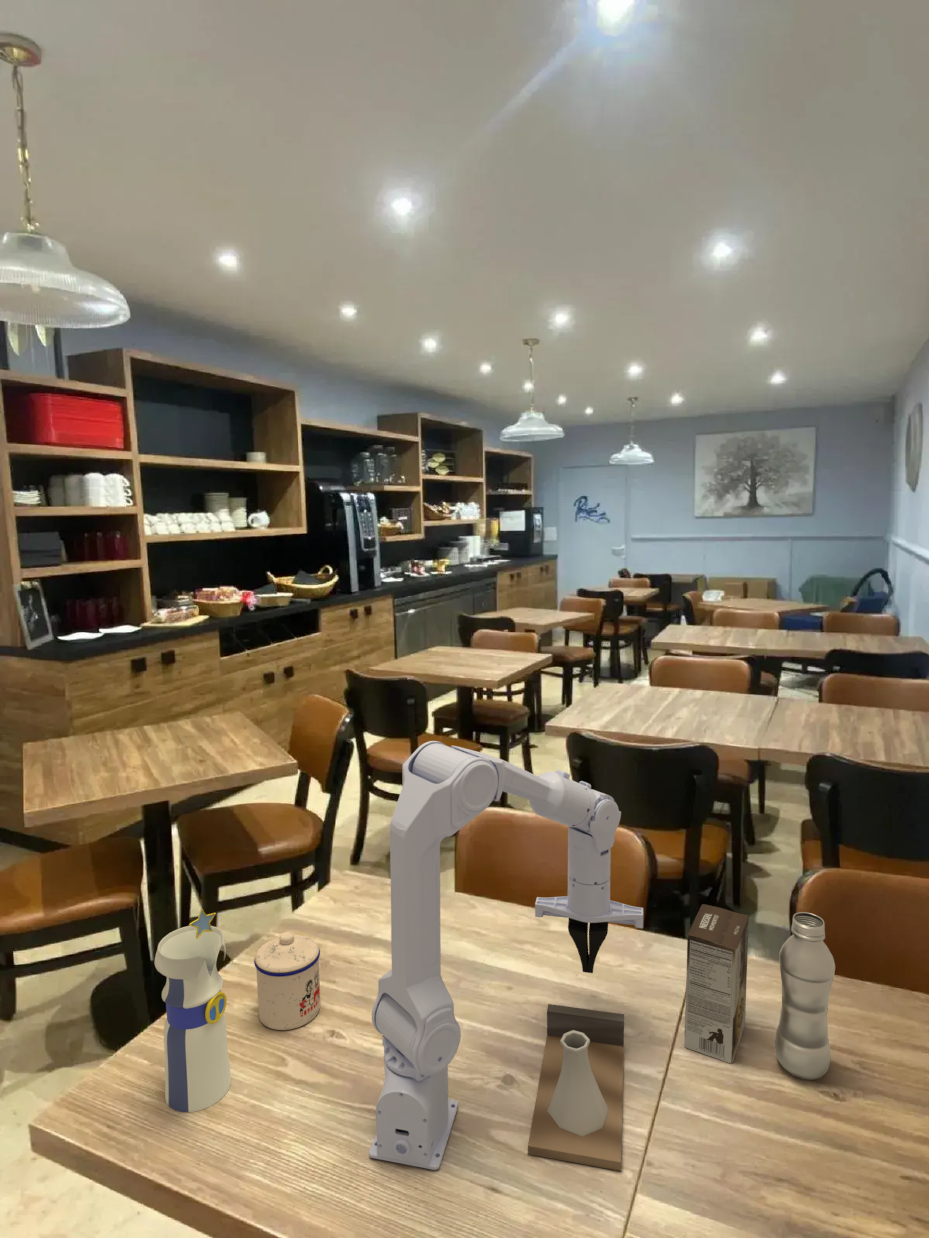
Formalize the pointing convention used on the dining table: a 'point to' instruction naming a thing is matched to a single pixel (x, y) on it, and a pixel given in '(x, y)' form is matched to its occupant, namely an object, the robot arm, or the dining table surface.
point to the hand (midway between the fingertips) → (588, 968)
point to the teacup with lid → (288, 981)
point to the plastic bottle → (805, 999)
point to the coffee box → (716, 982)
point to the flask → (577, 1089)
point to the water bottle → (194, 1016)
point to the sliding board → (608, 1074)
